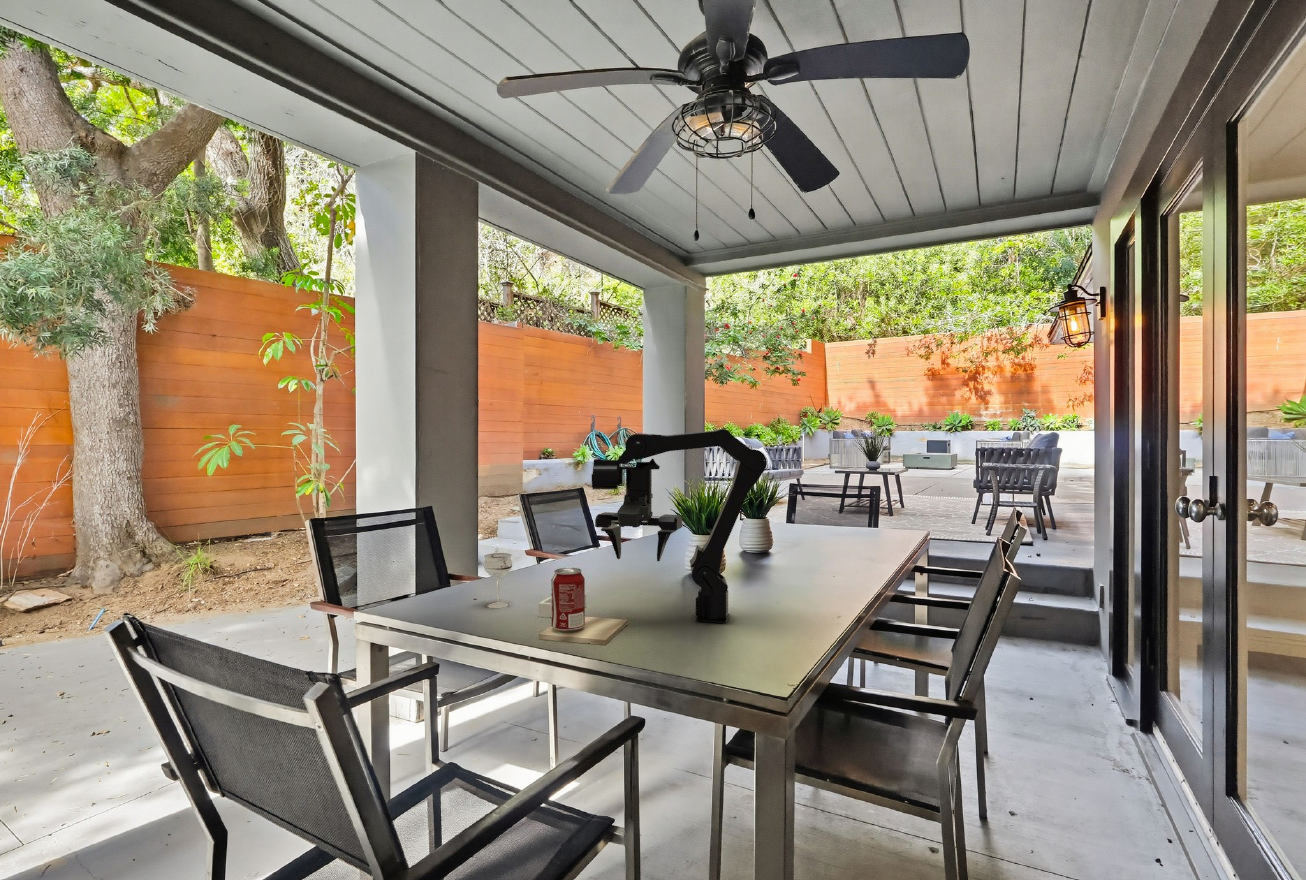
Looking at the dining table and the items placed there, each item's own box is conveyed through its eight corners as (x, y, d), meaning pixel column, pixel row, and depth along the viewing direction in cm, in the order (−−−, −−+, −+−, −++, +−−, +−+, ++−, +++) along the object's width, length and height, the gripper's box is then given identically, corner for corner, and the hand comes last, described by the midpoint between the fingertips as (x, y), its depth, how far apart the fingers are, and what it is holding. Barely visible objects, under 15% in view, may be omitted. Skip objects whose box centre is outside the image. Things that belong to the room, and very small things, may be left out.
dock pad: (627, 624, 136) (627, 619, 136) (605, 645, 122) (605, 639, 122) (567, 619, 139) (567, 615, 139) (539, 639, 126) (539, 634, 126)
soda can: (589, 630, 128) (589, 571, 128) (557, 635, 125) (557, 575, 125) (577, 622, 134) (577, 565, 134) (547, 626, 131) (546, 568, 131)
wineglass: (481, 603, 153) (481, 554, 153) (509, 600, 156) (509, 552, 156) (486, 610, 147) (486, 559, 147) (515, 607, 150) (515, 556, 150)
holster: (586, 606, 150) (586, 594, 150) (568, 618, 140) (568, 605, 140) (557, 604, 152) (557, 592, 152) (538, 616, 142) (538, 603, 142)
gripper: (585, 491, 135) (585, 564, 135) (670, 493, 130) (670, 569, 130) (603, 487, 146) (603, 555, 146) (682, 489, 141) (682, 559, 141)
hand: (638, 560), depth 140 cm, fingers open, 9 cm apart
